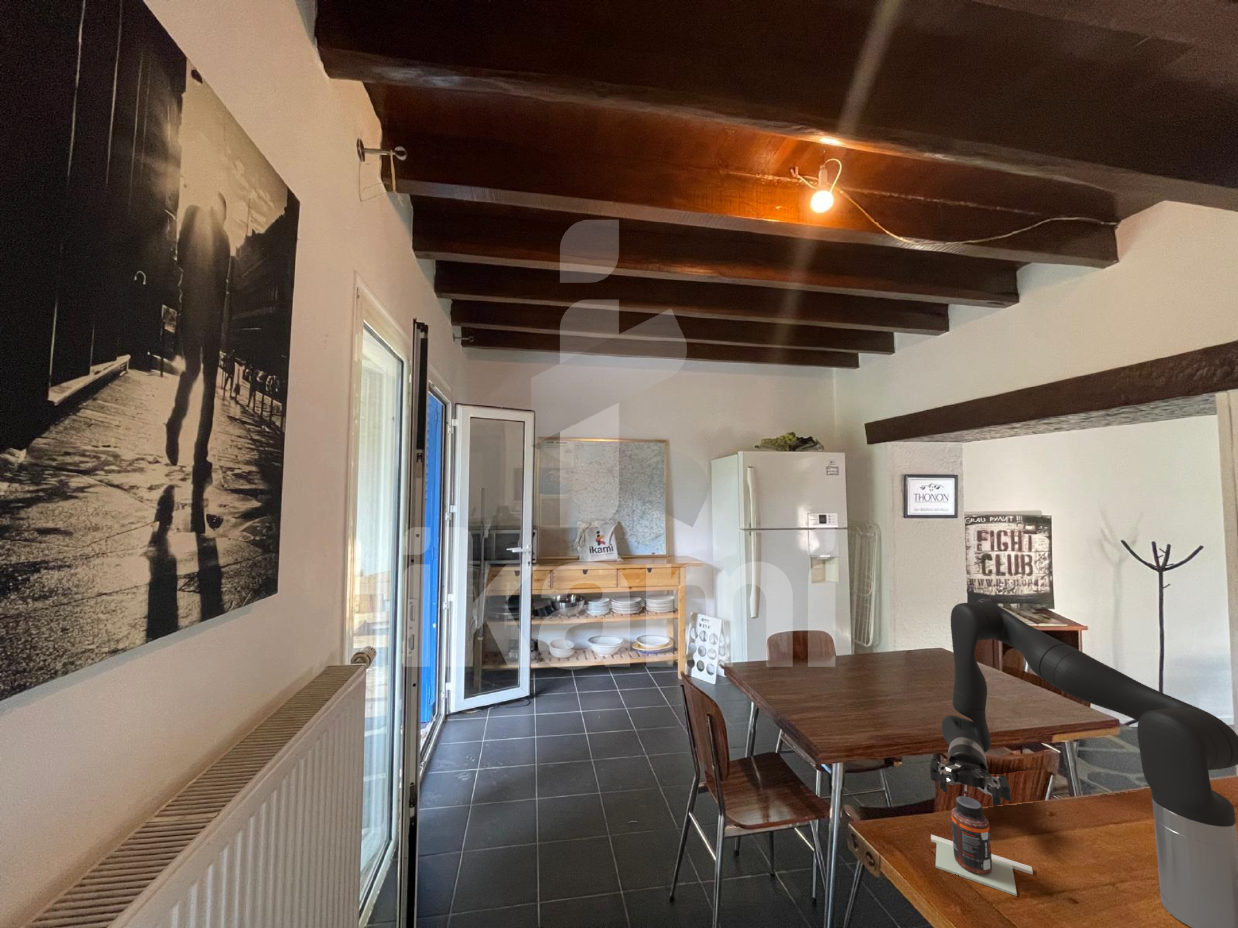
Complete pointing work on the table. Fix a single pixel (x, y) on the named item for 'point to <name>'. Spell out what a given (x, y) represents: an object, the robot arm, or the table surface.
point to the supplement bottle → (971, 836)
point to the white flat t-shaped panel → (996, 878)
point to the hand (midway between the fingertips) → (969, 794)
